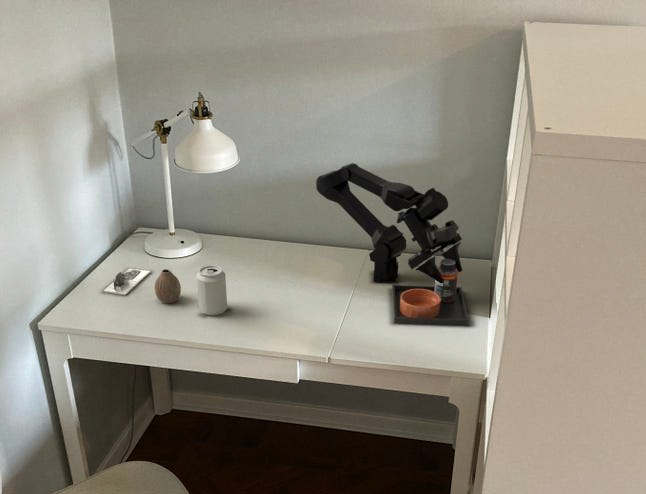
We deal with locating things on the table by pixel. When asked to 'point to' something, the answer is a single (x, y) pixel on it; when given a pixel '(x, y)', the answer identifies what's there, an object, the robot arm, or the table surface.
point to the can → (212, 290)
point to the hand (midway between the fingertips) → (451, 277)
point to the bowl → (420, 303)
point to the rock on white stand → (126, 281)
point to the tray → (447, 316)
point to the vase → (167, 287)
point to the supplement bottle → (447, 281)
